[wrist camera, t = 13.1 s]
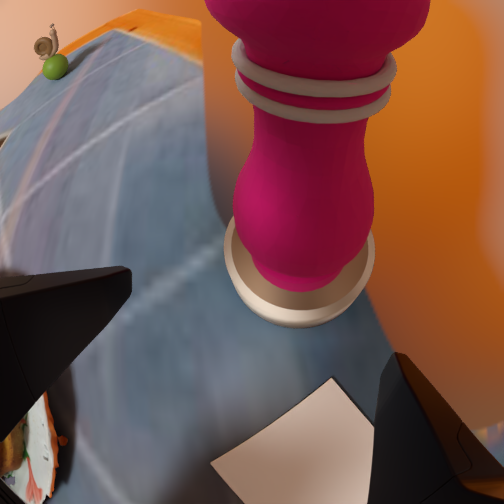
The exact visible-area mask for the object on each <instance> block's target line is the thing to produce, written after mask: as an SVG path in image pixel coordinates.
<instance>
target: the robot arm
mask: <svg viewBox="0 0 504 504" xmlns="http://www.w3.org/2000/svg"><path fill="white" fill-rule="evenodd" d="M131 292H132V272H131V270H130V269H129V268H126V267H124V266H113V267H104V268H94V269H85V270H75V271H66V272H56V273H47V274H37V275H27V276H16V277H1V278H0V443H2V442H3V441H4V440H5V439H6V438H7V436H8V435H9V434H10V433H11V431H12V430H13V429H14V428H15V427H16V425H17V424H18V423H19V422H20V421H21V419H22V418H23V417H24V416H25V415H26V414H27V412H28V411H29V410H30V409H31V408H32V407H33V405H34V404H35V402H37V401H38V399H39V398H40V397H41V396H42V395H43V394H44V393H45V391H46V390H47V389H48V388H49V387H50V386H51V385H52V384H53V383H54V381H55V380H56V379H57V378H58V377H59V376H60V375H61V374H62V373H63V371H64V370H65V369H66V368H67V367H68V366H69V365H70V364H71V363H72V362H73V361H74V359H75V358H76V357H77V356H78V355H79V354H80V353H81V352H82V351H83V350H84V349H85V348H86V347H87V346H88V345H89V344H90V342H91V341H92V340H93V339H94V338H95V337H96V336H97V335H98V334H99V333H100V332H101V331H102V330H103V329H104V328H105V327H106V326H107V324H108V323H109V322H110V321H111V320H112V318H113V317H114V316H115V314H116V313H117V312H118V311H119V309H120V308H121V307H122V306H123V304H124V303H125V302H126V301H127V299H128V298H129V297H130V295H131ZM0 504H27V503H26V502H25V501H24V500H22V499H21V498H20V497H19V496H18V495H17V494H16V493H15V492H14V491H13V490H12V489H11V488H10V487H9V486H8V485H7V483H6V482H5V481H4V480H3V479H2V478H1V477H0ZM367 504H504V467H503V466H502V465H501V464H500V463H499V462H498V461H497V460H496V459H495V457H494V456H493V455H492V454H491V453H490V452H489V451H488V450H487V449H486V448H485V447H484V446H483V445H482V443H481V442H480V441H479V440H478V439H477V438H476V437H475V435H474V434H473V433H472V432H471V431H470V430H469V428H468V427H467V426H466V425H465V423H464V422H462V420H461V418H460V417H459V416H458V415H457V414H456V412H455V411H454V410H453V409H452V408H451V406H450V405H449V404H448V403H447V402H446V400H445V399H444V398H443V397H442V396H441V394H440V393H439V392H438V391H437V390H436V389H435V387H434V386H433V385H432V384H431V383H430V382H429V380H428V379H427V378H426V377H425V376H424V375H423V374H422V372H421V371H420V370H419V369H418V368H417V367H416V366H415V364H414V363H413V362H412V361H411V360H410V359H409V358H408V356H407V355H405V354H402V353H398V352H394V353H393V354H392V355H391V357H390V359H389V360H388V362H387V364H386V366H385V368H384V370H383V372H382V374H381V378H380V385H379V393H378V400H377V406H376V413H375V422H374V439H373V454H372V465H371V476H370V485H369V493H368V501H367Z"/></svg>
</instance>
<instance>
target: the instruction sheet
mask: <svg viewBox="0 0 504 504" xmlns="http://www.w3.org/2000/svg"><path fill="white" fill-rule="evenodd" d="M373 439H374V427H373V426H372V425H371V423H370V422H369V421H368V420H367V419H366V418H365V416H364V415H363V414H362V413H361V412H360V411H359V409H358V408H357V407H356V406H355V405H354V404H353V402H352V401H351V400H350V399H349V398H348V397H347V395H346V394H345V393H344V392H343V391H342V389H341V388H340V387H339V386H338V385H337V384H336V382H335V381H334V380H333V379H332V378H330V379H329V380H328V381H327V382H326V383H324V384H323V385H322V386H321V387H319V388H318V389H317V390H316V391H314V392H313V393H312V394H311V395H309V396H308V397H307V398H306V399H304V400H303V401H302V402H300V403H299V404H298V405H296V406H295V407H294V408H292V409H291V410H290V411H288V412H287V413H286V414H284V415H283V416H281V417H280V418H279V419H277V420H276V421H274V422H273V423H272V424H270V425H269V426H267V427H266V428H264V429H263V430H261V431H260V432H258V433H257V434H255V435H254V436H252V437H251V438H249V439H248V440H246V441H245V442H243V443H242V444H240V445H239V446H237V447H235V448H234V449H232V450H230V451H229V452H227V453H226V454H224V455H222V456H221V457H219V458H217V459H216V460H214V461H212V462H210V464H211V465H212V466H213V468H214V469H215V470H216V471H217V472H218V474H219V475H220V476H221V477H222V478H223V480H224V481H225V482H226V483H227V484H228V485H229V487H230V488H231V489H232V490H233V491H234V492H235V493H236V494H237V496H238V497H239V498H240V499H241V500H242V501H243V502H244V503H245V504H367V501H368V493H369V485H370V476H371V465H372V454H373Z"/></svg>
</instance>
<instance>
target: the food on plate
mask: <svg viewBox="0 0 504 504" xmlns="http://www.w3.org/2000/svg"><path fill="white" fill-rule="evenodd" d="M53 423H54V420H53V417H52V414H51V412H50V409H49V406H48V397H47V393H46V391H45V393H44V394H43V395H42V396H41V397H40V398H39V399H38V401H37V402H35V404H34V405H33V407H32V408H31V409H30V410H29V411H28V412H27V414H26V415H25V416H24V417H23V418H22V419H21V421H20V422H19V423H18V424H17V425H16V427H15V428H14V429H13V430H12V431H11V433H10V434H9V435H8V436H7V438H6V439H5V440H4V441H3V442H2V443H0V477H1V478H2V476H4V477H6V478H9V477H10V476H11V477H14V476H15V485H11V484H10V486H9V487H10V488H11V489H12V490H13V491H14V492H15V493H16V494H17V495H18V496H19V497H20V498H21V499H22V500H24V501H25V502H26V503H27V504H42V502H43V500H45V497H46V494H47V495H48V496H49V497H50V498H51V496H52V491H54V481H55V475H56V473H57V472H56V470H55V468H57V467H59V465H58V462H57V453H58V450H59V449H58V445H57V435H56V432H55V429H54V425H53ZM58 440H59V443H60V446H61V445H66V444H67V440H68V439H67V438H66V437H64V436H63V435H61V436H60V437H58ZM62 447H63V446H62Z"/></svg>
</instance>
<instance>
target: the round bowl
mask: <svg viewBox="0 0 504 504" xmlns="http://www.w3.org/2000/svg"><path fill="white" fill-rule="evenodd" d="M224 257H225V262H226V266H227V269H228V272H229V274H230V277H231V279H232V282H233V284H234V286H235V289H236V291H237V293H238V294H239V296H240V298H241V299H242V301H243V302H244V303H245V305H246V306H247V307H248V308H249V309H250V310H251V311H252V312H254V313H255V314H256V315H258V316H259V317H261V318H262V319H264V320H266V321H268V322H270V323H273V324H275V325H279V326H282V327H287V328H310V327H315V326H319V325H322V324H325V323H327V322H329V321H331V320H333V319H335V318H336V317H338V316H339V315H341V314H342V313H343V312H344V311H345V310H346V309H347V308H348V307H349V306H350V305H351V304H352V303H353V301H354V300H355V299H356V298H357V296H358V295H359V294H360V292H361V291H362V290H363V288H364V287H365V285H366V284H367V282H368V280H369V278H370V275H371V273H372V269H373V266H374V260H375V243H374V238H373V234H372V231H371V229H370V232H369V235H368V238H367V240H366V242H365V244H364V246H363V248H362V249H361V250H360V252H359V253H358V254H357V256H356V257H355V258H354V259H353V260H352V261H350V262H349V263H348V264H346V265H345V266H344V267H343V269H342V270H341V272H340V274H339V275H338V276H337V277H336V278H335V279H334V280H333V281H332V282H330V283H329V284H327V285H326V286H324V287H322V288H319V289H316V290H313V291H308V292H291V291H288V290H284V289H281V288H279V287H277V286H275V285H273V284H271V283H270V282H269V281H267V280H266V279H265V278H264V277H263V276H262V275H261V274H260V273H259V272H258V270H257V269H256V267H255V265H254V263H253V260H252V257H251V254H250V253H249V252H248V250H247V249H246V248H245V247H244V245H243V244H242V242H241V240H240V238H239V236H238V233H237V230H236V227H235V221H234V215H233V217H232V219H231V220H230V222H229V225H228V227H227V230H226V234H225V239H224Z"/></svg>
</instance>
